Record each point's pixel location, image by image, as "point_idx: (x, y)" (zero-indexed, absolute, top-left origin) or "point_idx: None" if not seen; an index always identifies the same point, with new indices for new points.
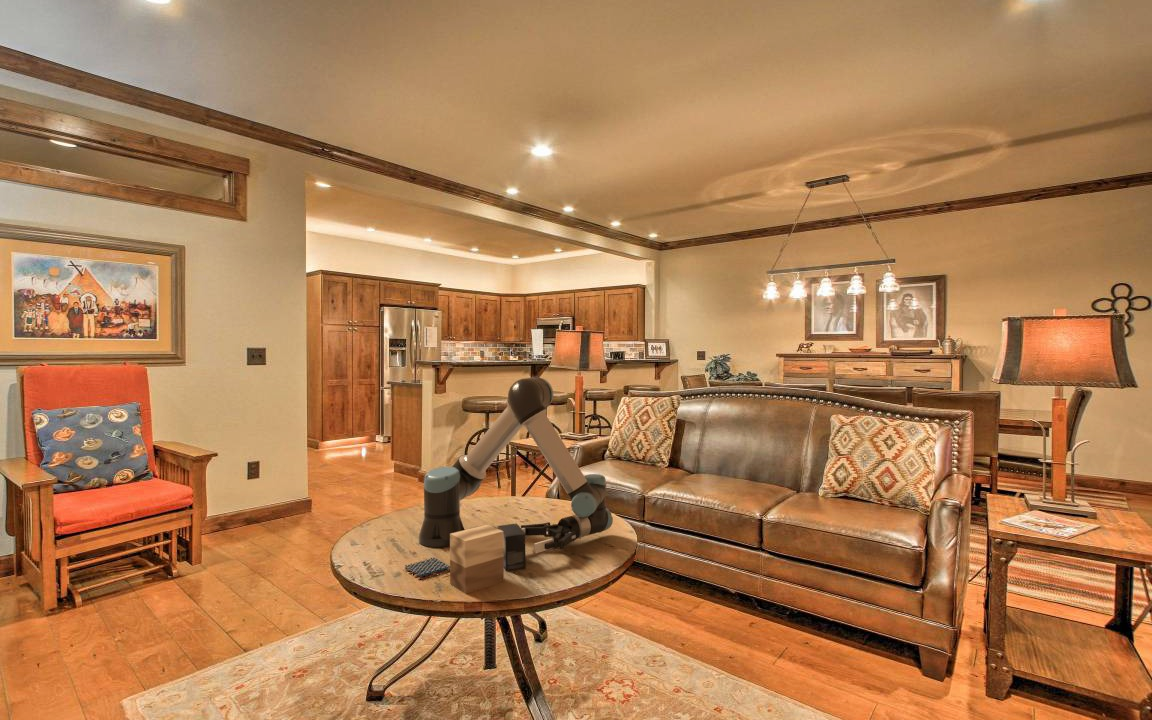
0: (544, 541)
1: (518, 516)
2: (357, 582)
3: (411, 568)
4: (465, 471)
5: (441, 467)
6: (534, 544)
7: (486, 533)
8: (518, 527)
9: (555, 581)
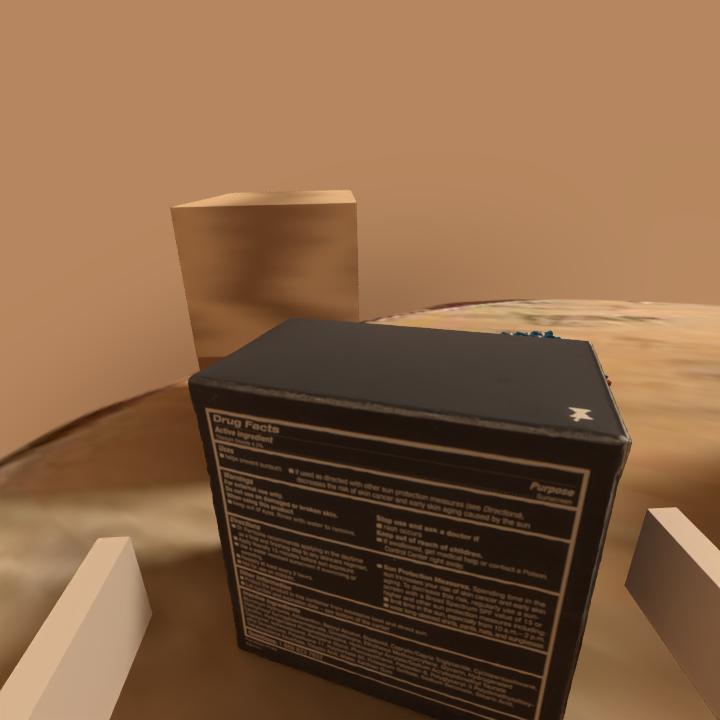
0: (7, 687)
1: None
2: (503, 303)
3: (515, 334)
4: None
5: None
6: (123, 544)
7: (229, 199)
8: (411, 395)
9: None
